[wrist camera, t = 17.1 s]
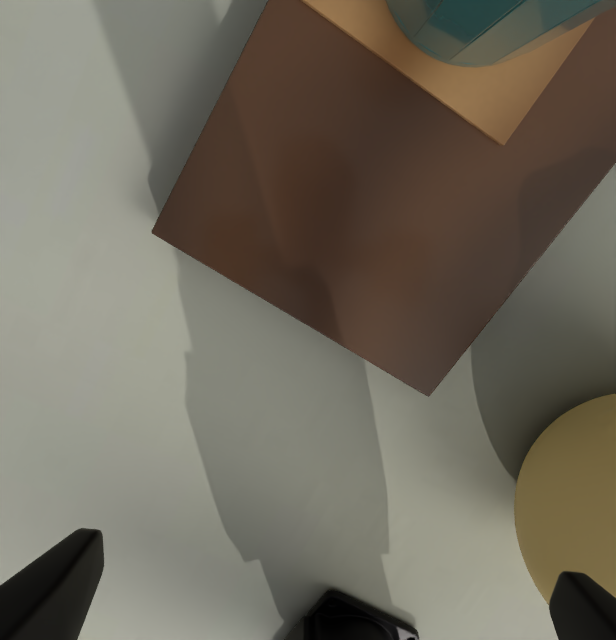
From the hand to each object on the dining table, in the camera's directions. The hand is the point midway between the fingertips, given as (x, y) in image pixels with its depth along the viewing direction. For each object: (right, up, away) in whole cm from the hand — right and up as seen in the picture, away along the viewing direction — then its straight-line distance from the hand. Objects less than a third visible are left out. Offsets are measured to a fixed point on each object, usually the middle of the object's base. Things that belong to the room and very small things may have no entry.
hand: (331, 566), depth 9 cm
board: (+4, +13, +9) cm, 17 cm away
